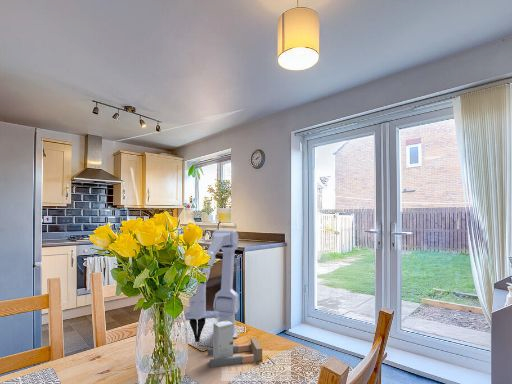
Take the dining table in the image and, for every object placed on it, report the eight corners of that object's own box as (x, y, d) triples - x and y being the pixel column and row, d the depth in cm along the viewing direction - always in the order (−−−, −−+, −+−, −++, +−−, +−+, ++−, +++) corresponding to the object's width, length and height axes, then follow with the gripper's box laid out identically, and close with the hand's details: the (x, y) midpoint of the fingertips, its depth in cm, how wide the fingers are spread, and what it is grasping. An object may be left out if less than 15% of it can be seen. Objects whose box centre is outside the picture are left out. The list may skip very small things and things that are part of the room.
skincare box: (218, 363, 102) (218, 327, 103) (212, 358, 106) (212, 323, 107) (233, 358, 106) (233, 323, 107) (227, 354, 109) (227, 319, 110)
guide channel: (207, 354, 109) (207, 342, 110) (255, 348, 113) (255, 337, 114) (210, 366, 100) (210, 354, 100) (262, 360, 104) (262, 348, 105)
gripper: (175, 305, 100) (175, 348, 99) (219, 302, 103) (219, 343, 102) (176, 299, 106) (175, 339, 105) (217, 296, 110) (217, 335, 109)
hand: (197, 340), depth 104 cm, fingers closed
